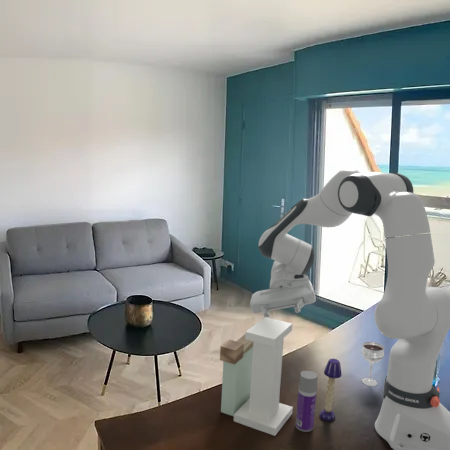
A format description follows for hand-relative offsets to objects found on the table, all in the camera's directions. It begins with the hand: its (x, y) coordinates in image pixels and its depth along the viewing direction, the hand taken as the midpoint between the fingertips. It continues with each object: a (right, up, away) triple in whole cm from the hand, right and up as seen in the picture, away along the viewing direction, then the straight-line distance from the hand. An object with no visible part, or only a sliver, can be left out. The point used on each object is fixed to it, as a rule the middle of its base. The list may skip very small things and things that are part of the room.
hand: (281, 313), depth 154 cm
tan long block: (-12, -9, -9) cm, 17 cm away
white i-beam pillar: (-6, -26, -13) cm, 30 cm away
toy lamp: (+12, -27, -11) cm, 31 cm away
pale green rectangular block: (-13, -24, -7) cm, 29 cm away
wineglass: (+28, -23, +9) cm, 38 cm away
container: (+4, -27, -16) cm, 32 cm away
